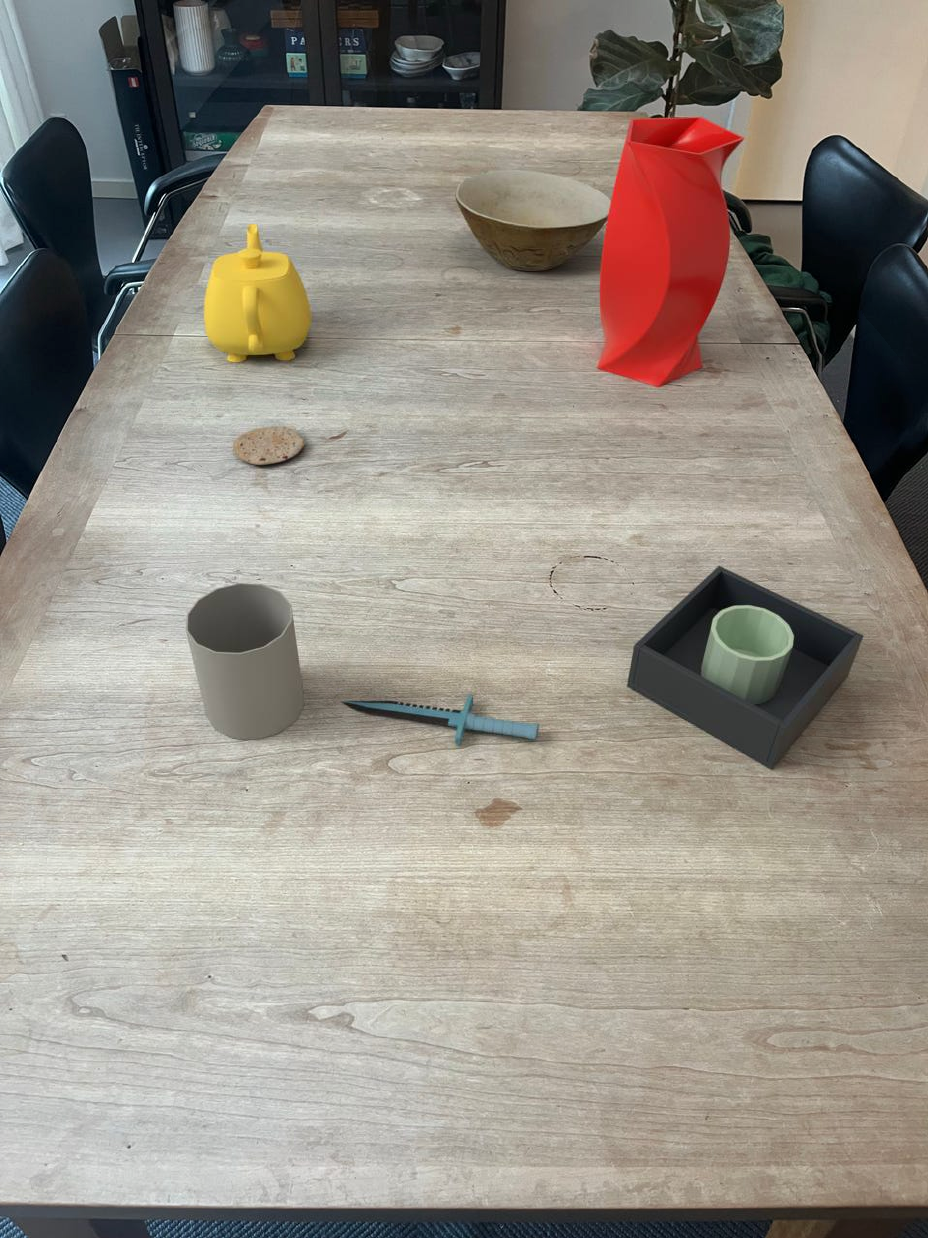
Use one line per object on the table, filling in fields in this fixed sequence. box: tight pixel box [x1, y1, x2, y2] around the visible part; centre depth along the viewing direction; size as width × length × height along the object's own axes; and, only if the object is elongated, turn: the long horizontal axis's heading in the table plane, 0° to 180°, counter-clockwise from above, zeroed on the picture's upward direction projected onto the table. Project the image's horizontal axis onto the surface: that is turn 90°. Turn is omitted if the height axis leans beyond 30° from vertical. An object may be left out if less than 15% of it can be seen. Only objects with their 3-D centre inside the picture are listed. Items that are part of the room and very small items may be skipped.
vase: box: [596, 116, 745, 388], centre depth 123 cm, size 15×14×28 cm
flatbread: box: [232, 426, 306, 466], centre depth 115 cm, size 8×8×1 cm
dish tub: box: [626, 565, 864, 770], centre depth 87 cm, size 14×14×5 cm
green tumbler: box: [701, 605, 794, 705], centre depth 86 cm, size 7×7×6 cm
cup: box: [185, 582, 305, 741], centre depth 83 cm, size 8×8×10 cm
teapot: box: [203, 223, 312, 363], centre depth 130 cm, size 14×20×13 cm
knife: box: [341, 693, 540, 746], centre depth 85 cm, size 17×1×5 cm
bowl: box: [454, 168, 611, 272], centre depth 152 cm, size 24×24×10 cm
